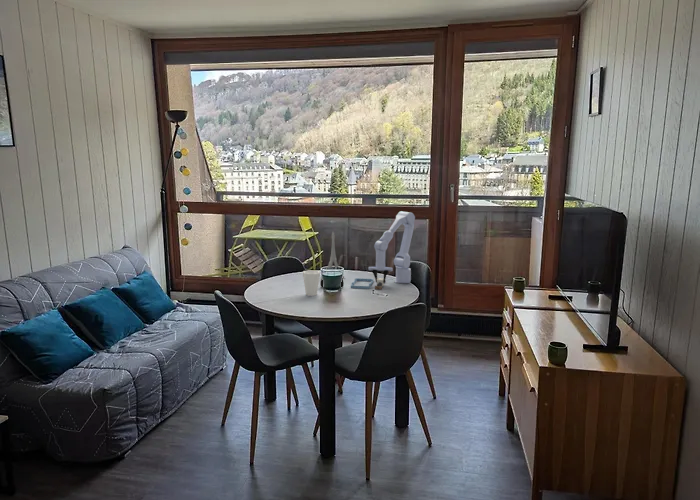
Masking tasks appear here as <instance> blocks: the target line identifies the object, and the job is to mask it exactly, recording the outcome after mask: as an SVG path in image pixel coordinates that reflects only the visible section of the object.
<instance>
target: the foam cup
mask: <svg viewBox="0 0 700 500" xmlns="http://www.w3.org/2000/svg"><path fill="white" fill-rule="evenodd" d="M320 276H321V273H320V271H319V270H311V269H309V270H308V269H307V270H303V271H302V277H303V283H304V290H305V295H306V296H309V297H314V296H317V295H318V291H319V282H320Z"/></svg>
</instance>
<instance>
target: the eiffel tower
mask: <svg viewBox="0 0 700 500" xmlns="http://www.w3.org/2000/svg"><path fill="white" fill-rule="evenodd" d="M335 237H336V235H335V231H332V232H331V249H330V250H331V252H330V253H331V254H330V257H329V262H328V265H327V267H339V265H338V261H337V256H336V246H335V245H336V244H335V239H336V238H335ZM333 264H334V265H333ZM344 277H345V276H344V275H343V280H345V279H344Z"/></svg>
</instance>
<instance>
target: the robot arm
mask: <svg viewBox="0 0 700 500" xmlns="http://www.w3.org/2000/svg"><path fill="white" fill-rule="evenodd" d="M415 219H416V216H415V214H414V213H413V212H411V211H410V212H408V211H402V210H401V211H399V212H398V213H397V214H396V215H395V219H394V221H393V222H392V224H391V226H390V227H389V229H388V230H385V231H384V232H383V234H382V236H381V237H380V238H379V239H378V240H376V241H375V243H374V245H373V248H374V250H375V266H368V271H372V274H373V276H374V279H375V280H374V281H375V283H377V278H378V271H380V272H381V271H382V272H383V278H384V280H383V283H384V284H385V283H386V279H387V275H388V273H389V272H393V271H394V270H393V267H390V266H389V267H388V266H386V251H387V249H388V248H389V243H390V242H391V240H392V239H393V238H394V233H395V232H396V231H397V230H398V229H399V228H400V226H401V225H403V226H404V229H403V230H404V231H403V234H402V239H401V242H400V248H399V252H397V253H396V254H395V257H394V259H393V265H394V266H395V280H394V283H395V284H396V283H399V284H411V280H412V276H411V275H412V270H411V269H412V268H410V265H411V256H410V254H409V252H410V248H411V247H410V246H411V244H412V243H411V242H412V237H413V234H414V228H415Z"/></svg>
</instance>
